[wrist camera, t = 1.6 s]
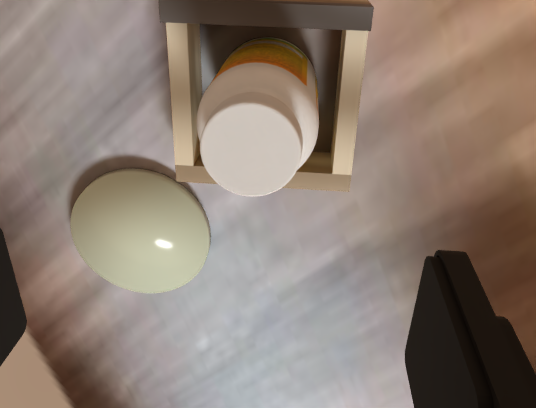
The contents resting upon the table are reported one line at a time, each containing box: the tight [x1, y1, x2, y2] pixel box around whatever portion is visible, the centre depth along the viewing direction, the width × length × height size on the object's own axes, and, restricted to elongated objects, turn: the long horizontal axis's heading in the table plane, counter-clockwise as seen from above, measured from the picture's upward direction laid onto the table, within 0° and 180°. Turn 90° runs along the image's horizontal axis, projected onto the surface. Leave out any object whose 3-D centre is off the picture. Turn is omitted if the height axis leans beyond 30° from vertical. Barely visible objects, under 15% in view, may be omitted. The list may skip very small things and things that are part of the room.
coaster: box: [70, 168, 211, 293], centre depth 33 cm, size 9×9×1 cm
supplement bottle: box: [197, 37, 319, 197], centre depth 24 cm, size 5×5×10 cm
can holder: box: [159, 0, 374, 192], centre depth 26 cm, size 10×10×4 cm
